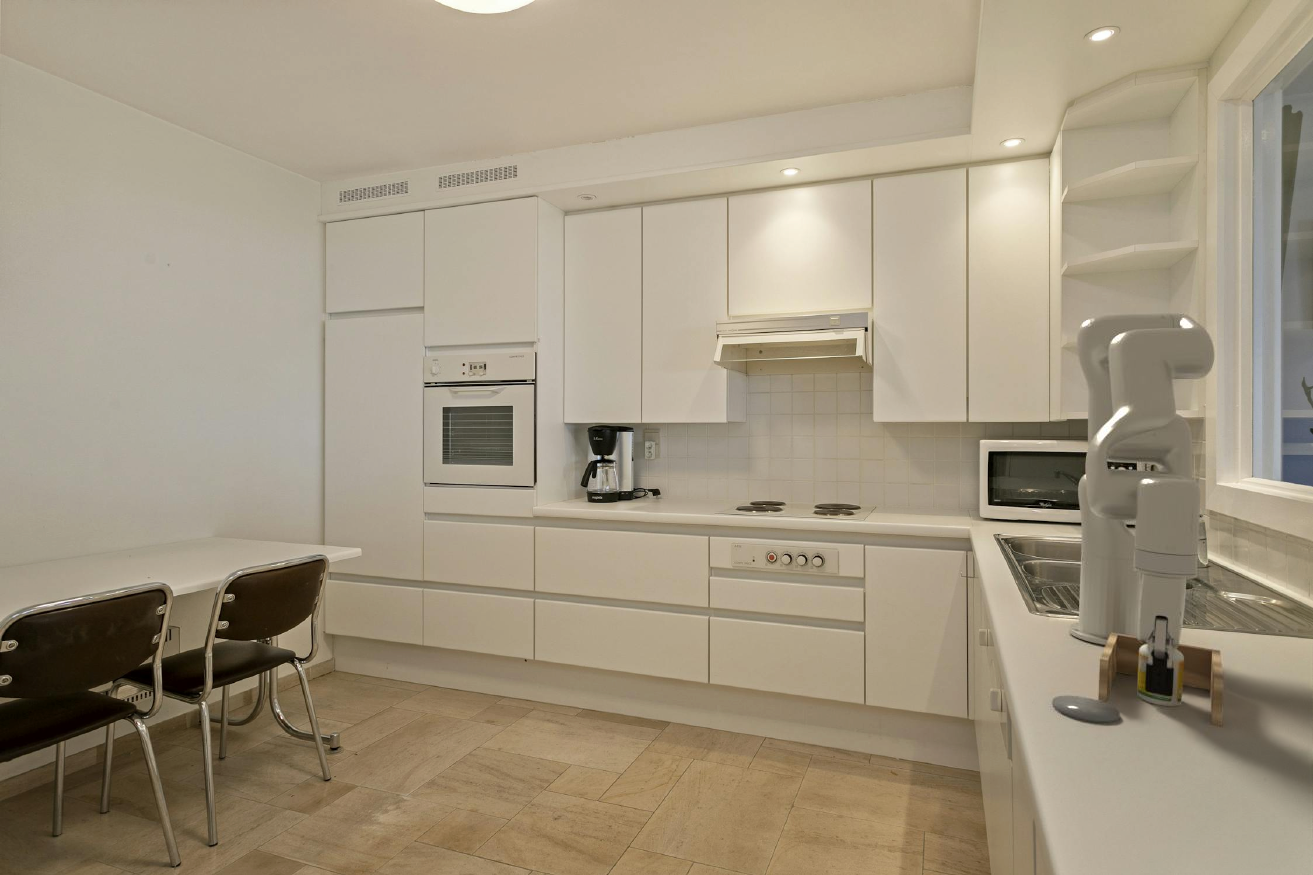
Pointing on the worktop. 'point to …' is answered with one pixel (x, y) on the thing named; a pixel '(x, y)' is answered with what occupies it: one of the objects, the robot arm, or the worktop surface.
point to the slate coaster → (1086, 709)
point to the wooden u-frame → (1197, 669)
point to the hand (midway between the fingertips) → (1159, 686)
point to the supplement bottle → (1177, 679)
